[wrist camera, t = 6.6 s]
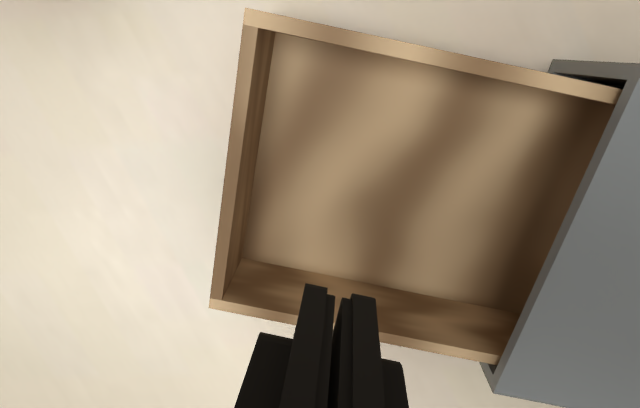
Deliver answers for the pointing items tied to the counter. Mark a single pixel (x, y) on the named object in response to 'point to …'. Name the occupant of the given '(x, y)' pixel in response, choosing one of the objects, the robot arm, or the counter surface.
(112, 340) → the counter surface
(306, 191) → the tray
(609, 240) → the sleeve
